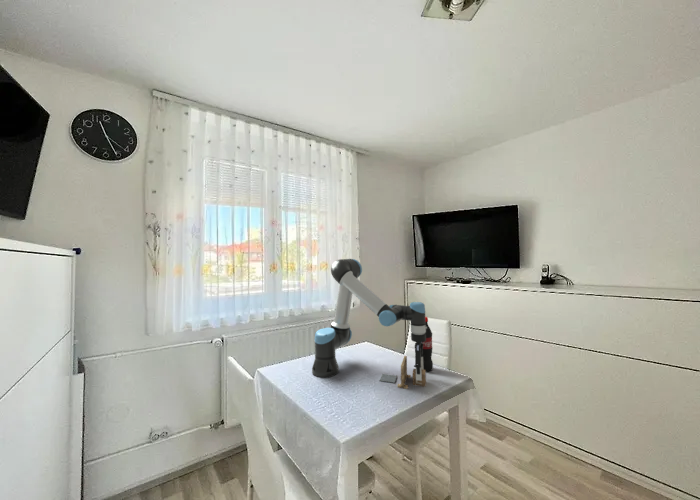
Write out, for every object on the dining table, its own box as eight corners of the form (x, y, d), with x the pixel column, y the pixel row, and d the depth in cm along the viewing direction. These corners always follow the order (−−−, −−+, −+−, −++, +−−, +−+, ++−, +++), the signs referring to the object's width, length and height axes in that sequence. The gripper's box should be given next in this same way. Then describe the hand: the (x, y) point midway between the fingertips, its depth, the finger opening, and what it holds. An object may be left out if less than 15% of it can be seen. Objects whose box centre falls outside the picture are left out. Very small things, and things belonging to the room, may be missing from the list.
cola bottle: (429, 373, 151) (428, 319, 151) (415, 370, 156) (414, 317, 157) (435, 368, 158) (434, 316, 158) (421, 365, 163) (420, 314, 163)
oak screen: (397, 387, 136) (397, 365, 136) (401, 375, 149) (400, 355, 149) (407, 388, 134) (407, 366, 135) (410, 376, 148) (410, 356, 148)
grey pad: (379, 381, 143) (379, 380, 143) (382, 374, 151) (382, 373, 151) (394, 383, 140) (394, 382, 140) (397, 376, 148) (397, 375, 148)
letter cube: (412, 385, 138) (412, 373, 139) (413, 379, 144) (413, 368, 144) (425, 386, 137) (424, 374, 137) (425, 381, 142) (425, 369, 142)
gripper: (424, 340, 128) (426, 386, 127) (427, 327, 152) (428, 365, 151) (408, 339, 130) (409, 384, 130) (413, 326, 154) (414, 364, 153)
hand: (419, 374), depth 140 cm, fingers open, 13 cm apart
